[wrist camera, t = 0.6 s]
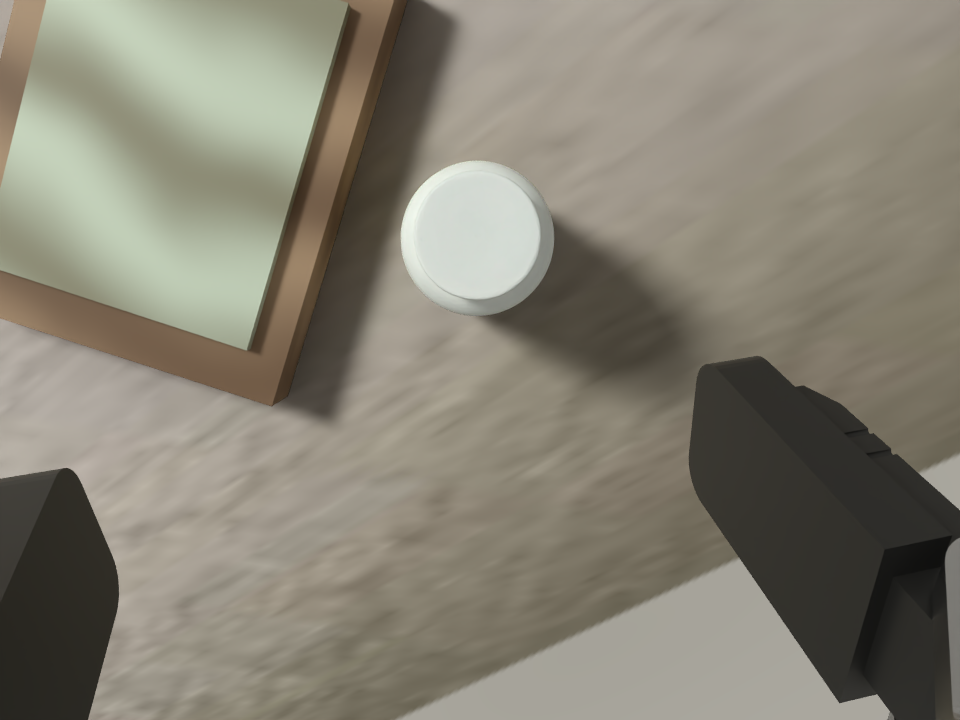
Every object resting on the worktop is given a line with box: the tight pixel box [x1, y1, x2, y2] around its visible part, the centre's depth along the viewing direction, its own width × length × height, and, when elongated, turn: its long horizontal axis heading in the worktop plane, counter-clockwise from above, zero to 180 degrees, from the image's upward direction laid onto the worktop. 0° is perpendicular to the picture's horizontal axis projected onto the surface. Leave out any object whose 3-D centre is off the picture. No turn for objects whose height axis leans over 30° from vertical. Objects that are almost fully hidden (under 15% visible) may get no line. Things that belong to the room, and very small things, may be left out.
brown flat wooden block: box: [0, 0, 407, 406], centre depth 31 cm, size 18×14×3 cm
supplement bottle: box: [401, 161, 554, 316], centre depth 28 cm, size 5×5×10 cm
